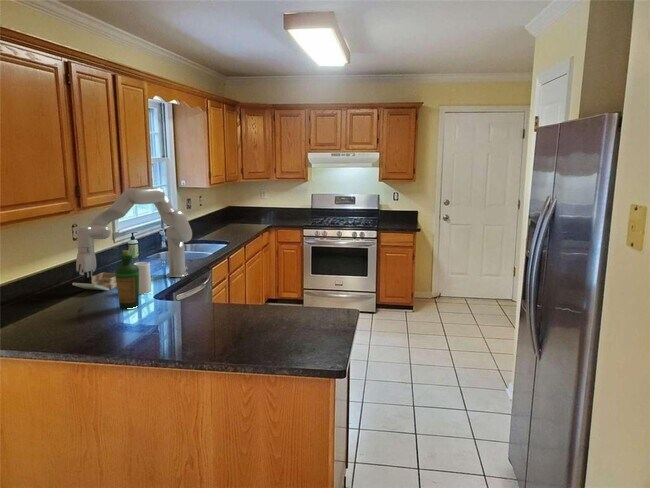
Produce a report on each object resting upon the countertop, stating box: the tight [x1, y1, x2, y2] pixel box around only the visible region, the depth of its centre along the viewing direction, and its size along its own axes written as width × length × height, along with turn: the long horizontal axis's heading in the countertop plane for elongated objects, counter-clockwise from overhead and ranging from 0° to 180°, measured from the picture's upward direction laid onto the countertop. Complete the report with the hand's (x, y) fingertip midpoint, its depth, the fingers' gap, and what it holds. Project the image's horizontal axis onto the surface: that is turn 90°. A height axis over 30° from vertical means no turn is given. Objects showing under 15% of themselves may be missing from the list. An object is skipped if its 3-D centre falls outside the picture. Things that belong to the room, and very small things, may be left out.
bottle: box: [114, 249, 140, 310], centre depth 219 cm, size 11×11×28 cm
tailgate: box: [71, 282, 111, 292], centre depth 244 cm, size 1×13×14 cm
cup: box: [133, 261, 152, 295], centre depth 246 cm, size 8×8×16 cm
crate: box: [91, 272, 117, 290], centre depth 256 cm, size 12×13×6 cm
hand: (88, 284), depth 241 cm, fingers closed
